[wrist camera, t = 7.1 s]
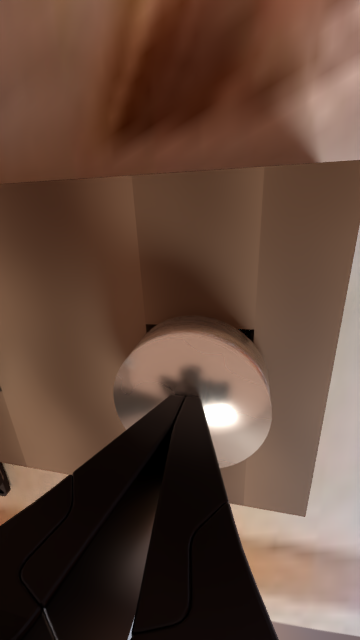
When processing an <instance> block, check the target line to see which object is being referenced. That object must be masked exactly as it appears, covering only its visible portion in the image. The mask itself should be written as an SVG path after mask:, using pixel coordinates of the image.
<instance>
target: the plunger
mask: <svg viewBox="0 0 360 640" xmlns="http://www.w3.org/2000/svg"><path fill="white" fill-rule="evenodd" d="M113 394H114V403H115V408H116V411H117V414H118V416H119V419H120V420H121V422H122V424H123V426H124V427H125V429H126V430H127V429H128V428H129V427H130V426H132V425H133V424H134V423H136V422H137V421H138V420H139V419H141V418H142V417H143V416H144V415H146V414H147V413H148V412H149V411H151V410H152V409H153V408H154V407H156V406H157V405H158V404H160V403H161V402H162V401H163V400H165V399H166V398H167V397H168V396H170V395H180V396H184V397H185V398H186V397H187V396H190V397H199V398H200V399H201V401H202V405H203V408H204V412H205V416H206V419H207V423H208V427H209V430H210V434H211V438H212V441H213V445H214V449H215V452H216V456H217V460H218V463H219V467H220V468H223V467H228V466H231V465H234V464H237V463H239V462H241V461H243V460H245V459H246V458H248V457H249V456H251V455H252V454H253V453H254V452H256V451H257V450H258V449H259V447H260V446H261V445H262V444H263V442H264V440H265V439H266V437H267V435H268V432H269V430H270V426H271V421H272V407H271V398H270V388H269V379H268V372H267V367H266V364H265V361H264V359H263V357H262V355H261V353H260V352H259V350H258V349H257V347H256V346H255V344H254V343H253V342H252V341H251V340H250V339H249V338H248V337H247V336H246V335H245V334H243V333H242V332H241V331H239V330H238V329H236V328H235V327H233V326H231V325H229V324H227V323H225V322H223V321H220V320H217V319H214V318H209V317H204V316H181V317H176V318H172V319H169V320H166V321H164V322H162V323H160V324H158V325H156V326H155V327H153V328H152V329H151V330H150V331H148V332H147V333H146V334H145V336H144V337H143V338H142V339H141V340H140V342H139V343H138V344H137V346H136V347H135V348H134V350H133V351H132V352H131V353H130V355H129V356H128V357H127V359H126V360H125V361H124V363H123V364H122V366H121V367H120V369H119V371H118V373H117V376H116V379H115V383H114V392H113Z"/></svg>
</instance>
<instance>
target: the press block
mask: <svg viewBox="0 0 360 640" xmlns="http://www.w3.org/2000/svg"><path fill="white" fill-rule="evenodd" d="M359 225H360V160H353V161H338V162H323V163H308V164H293V165H278V166H263V167H249V168H234V169H219V170H204V171H189V172H174V173H159V174H144V175H129V176H115V177H100V178H85V179H70V180H55V181H40V182H25V183H10V184H0V462H2V463H8V464H14V465H19V466H25V467H30V468H36V469H41V470H47V471H53V472H58V473H64V474H69V475H72V474H73V472H74V471H75V470H76V469H78V468H79V467H80V466H81V465H83V464H84V463H85V462H86V461H88V460H89V459H90V458H91V457H93V456H94V455H95V454H96V453H98V452H99V451H100V450H101V449H103V448H104V447H105V446H107V445H108V444H109V443H110V442H112V441H113V440H114V439H115V438H117V437H118V436H119V435H120V434H122V433H123V432H124V431H125V430H126V429H125V427H124V426H123V424H122V422H121V420H120V419H119V416H118V414H117V411H116V408H115V403H114V394H113V392H114V383H115V379H116V376H117V373H118V371H119V369H120V367H121V366H122V364H123V363H124V361H125V360H126V359H127V357H128V356H129V355H130V353H131V352H132V351H133V350H134V348H135V347H136V346H137V344H138V343H139V342H140V340H141V339H142V338H143V337H144V336H145V334H146V333H147V332H148V331H150V330H151V329H152V328H153V327H155V326H156V325H158V324H160V323H162V322H164V321H166V320H169V319H172V318H176V317H181V316H204V317H209V318H214V319H217V320H220V321H223V322H225V323H227V324H229V325H231V326H233V327H235V328H236V329H250V340H251V341H252V342H253V343H254V344H255V346H256V347H257V349H258V350H259V352H260V353H261V355H262V357H263V359H264V361H265V364H266V367H267V372H268V379H269V388H270V398H271V407H272V421H271V426H270V430H269V432H268V435H267V437H266V439H265V440H264V442H263V444H262V445H261V446H260V447H259V449H258V450H257V451H256V452H254V453H253V454H252V455H251V456H249V457H248V458H246V459H245V460H243V461H241V462H239V463H237V464H234V465H231V466H228V467H223V468H220V471H221V474H222V478H223V482H224V485H225V489H226V493H227V496H228V500H229V503H231V504H237V505H242V506H248V507H253V508H259V509H264V510H270V511H276V512H281V513H287V514H292V515H298V516H303V517H305V515H306V510H307V505H308V499H309V494H310V488H311V483H312V478H313V472H314V467H315V462H316V456H317V451H318V445H319V440H320V435H321V429H322V424H323V418H324V413H325V408H326V402H327V397H328V392H329V386H330V381H331V375H332V370H333V365H334V359H335V354H336V348H337V343H338V338H339V332H340V327H341V322H342V316H343V311H344V305H345V300H346V295H347V289H348V284H349V278H350V273H351V268H352V262H353V257H354V252H355V246H356V241H357V235H358V230H359Z"/></svg>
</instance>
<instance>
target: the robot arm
mask: <svg viewBox="0 0 360 640" xmlns="http://www.w3.org/2000/svg"><path fill="white" fill-rule="evenodd" d="M10 490H11V489H10V486H9V483H8V481H7V478H6V475H5V473H4V470H3V467H2V465H1V462H0V496H6V495H7V494H8V493H9V491H10ZM134 617H135V618H134ZM133 620H134V623H133ZM132 623H133V628H132V638H131V639H130V640H279V639H278V637H277V634H276V632H275V630H274V627H273V625H272V622H271V620H270V617H269V615H268V612H267V610H266V607H265V605H264V602H263V600H262V597H261V595H260V593H259V590H258V588H257V585H256V583H255V580H254V577H253V575H252V572H251V569H250V566H249V564H248V561H247V558H246V556H245V553H244V550H243V547H242V544H241V541H240V538H239V534H238V531H237V528H236V525H235V521H234V518H233V514H232V510H231V507H230V504H229V500H228V496H227V493H226V489H225V485H224V482H223V478H222V474H221V471H220V467H219V463H218V460H217V456H216V452H215V449H214V445H213V441H212V438H211V434H210V430H209V427H208V423H207V419H206V416H205V412H204V408H203V405H202V401H201V399H200V398H199V397H190V396H187V397H186V398H185V397H184V396H180V395H170V396H168V397H167V398H166V399H165V400H163V401H162V402H161V403H160V404H158V405H157V406H156V407H154V408H153V409H152V410H151V411H149V412H148V413H147V414H146V415H144V416H143V417H142V418H141V419H139V420H138V421H137V422H136V423H134V424H133V425H132V426H130V427H129V428H128V429H127V430H125V431H124V432H123V433H122V434H120V435H119V436H118V437H117V438H115V439H114V440H113V441H112V442H110V443H109V444H108V445H107V446H105V447H104V448H103V449H101V450H100V451H99V452H98V453H96V454H95V455H94V456H93V457H91V458H90V459H89V460H88V461H86V462H85V463H84V464H83V465H81V466H80V467H79V468H78V469H76V470H75V471H74V472H73V474H72V475H68V476H67V477H66V478H65V479H63V480H62V481H61V482H60V483H58V484H57V485H56V486H55V487H53V488H52V489H51V490H49V491H48V492H47V493H45V494H44V495H43V496H41V497H40V498H39V499H37V500H36V501H35V502H33V503H32V504H31V505H29V506H28V507H26V508H25V509H24V510H22V511H21V512H19V513H18V514H16V515H15V516H14V517H12V518H11V519H9V520H8V521H6V522H5V523H4V524H2V525H1V526H0V640H127V639H128V636H129V633H130V629H131V626H132Z"/></svg>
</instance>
